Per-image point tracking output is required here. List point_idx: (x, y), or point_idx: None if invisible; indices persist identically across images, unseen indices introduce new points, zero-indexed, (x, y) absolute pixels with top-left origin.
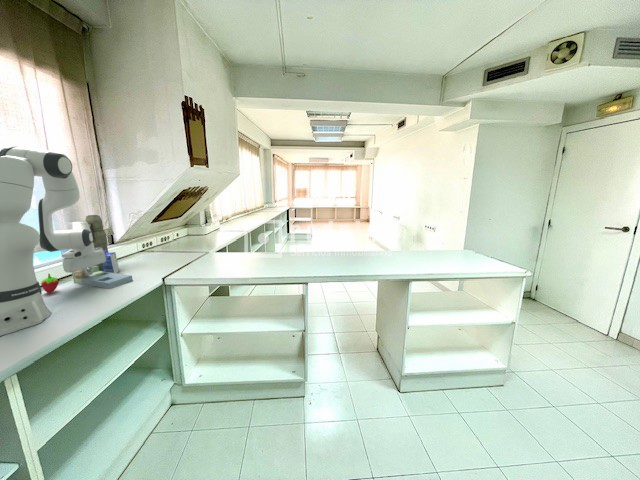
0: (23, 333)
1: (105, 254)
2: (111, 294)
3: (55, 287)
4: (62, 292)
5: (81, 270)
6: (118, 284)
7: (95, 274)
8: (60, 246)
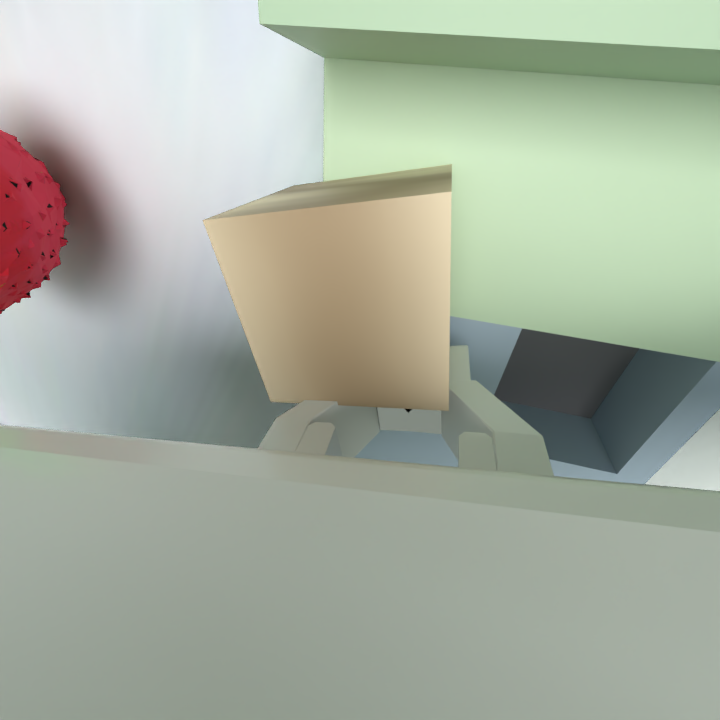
0: None
1: None
2: None
3: (42, 280)
4: (140, 306)
5: (278, 421)
6: None
7: (568, 320)
8: None
